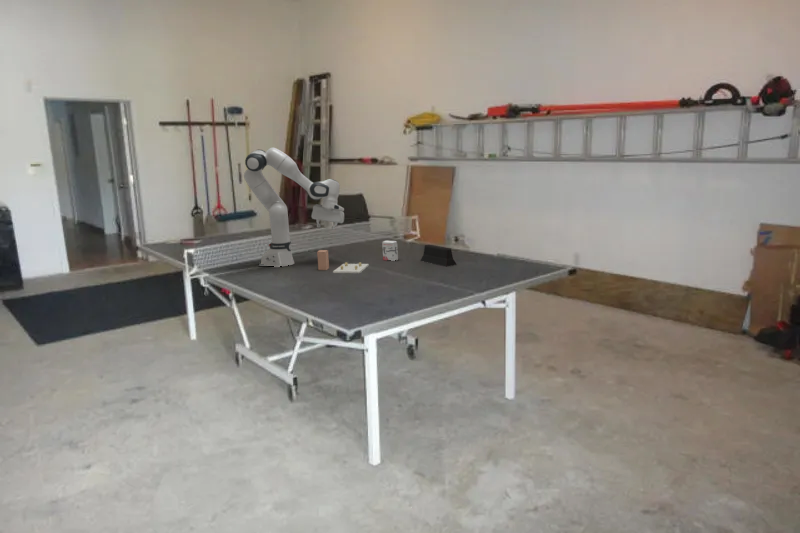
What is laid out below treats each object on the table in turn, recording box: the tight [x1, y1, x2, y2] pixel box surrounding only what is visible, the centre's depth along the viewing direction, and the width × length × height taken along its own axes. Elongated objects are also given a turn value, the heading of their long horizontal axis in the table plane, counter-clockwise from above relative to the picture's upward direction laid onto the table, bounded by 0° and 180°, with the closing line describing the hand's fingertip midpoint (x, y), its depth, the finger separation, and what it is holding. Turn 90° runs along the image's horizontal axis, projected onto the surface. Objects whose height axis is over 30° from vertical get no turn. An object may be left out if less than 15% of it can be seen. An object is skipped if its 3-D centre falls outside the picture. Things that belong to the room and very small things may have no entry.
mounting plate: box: [332, 262, 370, 274], centre depth 334 cm, size 16×20×3 cm
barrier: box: [420, 244, 457, 267], centre depth 342 cm, size 24×9×10 cm, turn 38°
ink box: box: [381, 240, 399, 262], centre depth 355 cm, size 9×5×12 cm, turn 62°
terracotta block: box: [316, 249, 330, 271], centre depth 337 cm, size 5×5×11 cm
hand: (325, 228), depth 346 cm, fingers open, 8 cm apart
